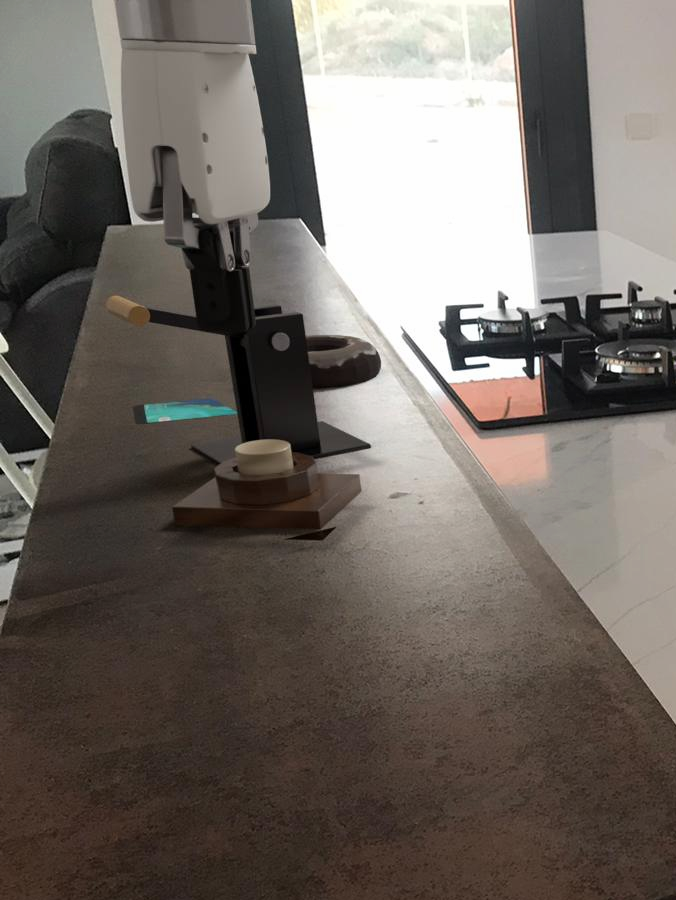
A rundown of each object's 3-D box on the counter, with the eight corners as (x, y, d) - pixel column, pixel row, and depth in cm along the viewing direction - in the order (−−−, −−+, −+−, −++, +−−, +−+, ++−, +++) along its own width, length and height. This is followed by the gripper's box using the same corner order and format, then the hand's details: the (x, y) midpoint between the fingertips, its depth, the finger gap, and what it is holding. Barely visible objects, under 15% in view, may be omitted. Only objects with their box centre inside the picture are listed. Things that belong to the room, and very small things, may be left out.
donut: (264, 372, 129) (258, 333, 128) (385, 367, 132) (381, 329, 131) (249, 401, 119) (242, 359, 118) (381, 396, 122) (376, 354, 120)
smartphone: (319, 407, 115) (133, 425, 108) (320, 415, 115) (135, 433, 109) (307, 388, 121) (130, 405, 114) (308, 396, 121) (132, 413, 114)
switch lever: (126, 331, 90) (130, 297, 90) (103, 319, 94) (107, 287, 93) (293, 359, 99) (298, 328, 99) (267, 348, 103) (271, 318, 102)
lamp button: (229, 477, 88) (225, 453, 87) (251, 462, 91) (247, 438, 90) (281, 479, 88) (277, 454, 87) (301, 463, 91) (298, 439, 90)
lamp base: (177, 537, 87) (166, 481, 86) (229, 498, 94) (220, 446, 93) (322, 541, 87) (314, 485, 85) (363, 502, 94) (356, 450, 93)
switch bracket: (236, 486, 97) (211, 330, 92) (193, 458, 103) (166, 311, 98) (372, 458, 104) (355, 312, 99) (324, 434, 110) (305, 295, 105)
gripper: (184, 27, 85) (222, 307, 92) (55, 19, 71) (112, 350, 78) (296, 31, 84) (326, 312, 91) (190, 25, 71) (234, 355, 78)
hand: (227, 328), depth 85 cm, fingers closed
